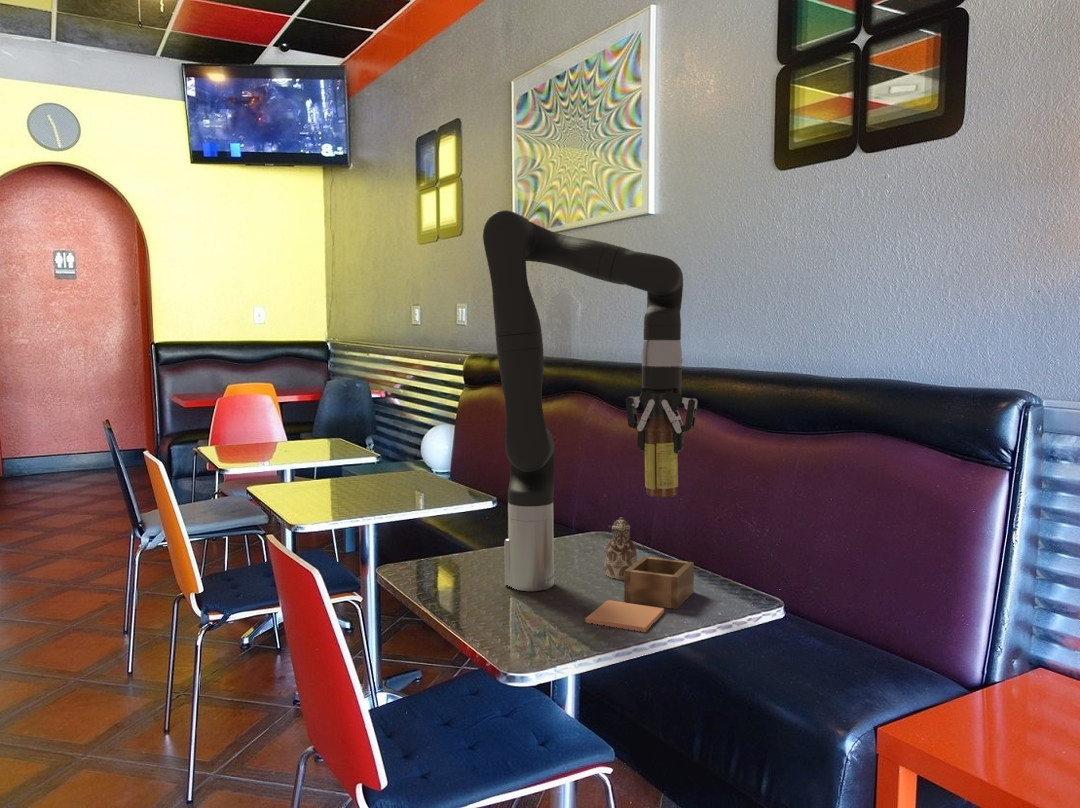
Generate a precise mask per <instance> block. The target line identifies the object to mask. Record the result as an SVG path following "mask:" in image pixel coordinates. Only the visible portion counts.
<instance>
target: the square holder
mask: <svg viewBox="0 0 1080 808" xmlns="http://www.w3.org/2000/svg"><path fill="white" fill-rule="evenodd" d="M694 566H695V565H694V561H685V560H678V559H668V558H660V557H651V556H645V555H644V556H642V557H641V558H639V559H637V562H635V563H634V564H633V565H631V566H630V567H629V568H627V569H626V570H625V571H624V579H623V582H624V586H623V587H624V593H623V596H624V597H623V598H624V600H623V602H624V603H631V604H638V605H645V606H652V607H659V608H664V609H665V608H668V609H672V608H673V609H674V610H678V609H679V608H680V607H681V606H682V605H683V604H684V603H685V602H686V601H685V600H687V599H689V598H690V597H691V595H693V593H694V583H695V582H694V579H695V578H694V573H695V572H694V571H695V569H694Z"/></svg>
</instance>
